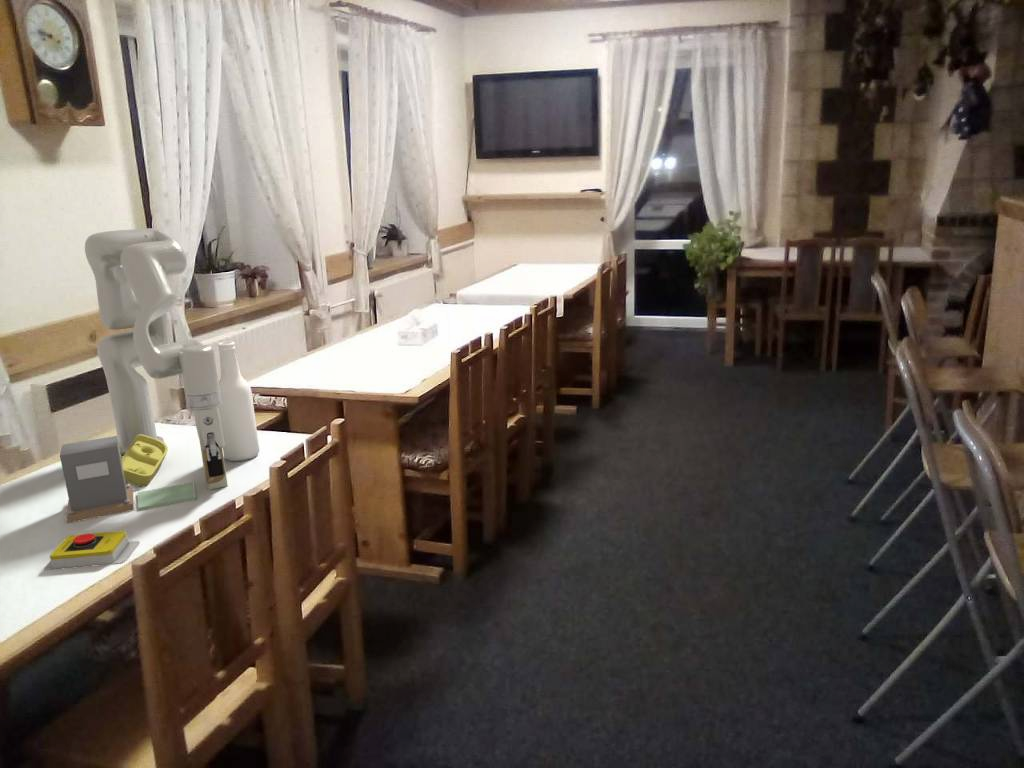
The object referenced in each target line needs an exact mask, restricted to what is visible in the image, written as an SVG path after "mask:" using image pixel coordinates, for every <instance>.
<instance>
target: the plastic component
mask: <svg viewBox="0 0 1024 768" xmlns="http://www.w3.org/2000/svg"><path fill="white" fill-rule="evenodd" d="M168 451H169V448H168V445H167V444H166V443H165V442H164V443H163V442H162V441H160V440H158V439H155V438H152V437H149V436H145V435H142V434H139V435H137V436H136V437H135V439H134V440H133V442H132V443H131V445H130V447H129V448H128V450H127V451H126V453H125V455H123V456H122V457H121V459H122V464H123V469H124V475H125V480H126V484H129V485H130V484H131V485H132V486H133V485H134V486H137V487H145V486H147V485H149V484H150V483H151V482H152V480H153V479H154V477H155V476H156V474H157V473H158V471H159V470H160V468H161V467H162V464H163V462H164V460H165V458H166V456H167V454H168Z"/></svg>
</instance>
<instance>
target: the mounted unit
mask: <svg viewBox="0 0 1024 768" xmlns="http://www.w3.org/2000/svg"><path fill="white" fill-rule="evenodd" d="M59 458H60V463H61V467H62V468H61V469H62V473H63V479H64V483H65V487H66V492H67V497H68V500H67V507H66V512H65V520H66V523H67V524H70V523H73V522H74V521H75V522H79V520H80V521H85V520H90V519H94V518H93V517H95V518H99V517H98V516H100V517H104V516H109V515H110V516H111V515H115V514H120V513H123V512H124V513H125V512H130V511H134V510H135V509H134V490H133V484H131V485H130V483H127V482H126V480H125V475H124V469H123V464H122V455H121V453H120V448H119V443H118V437H117V435H115V436H114V435H113V436H107V437H101V438H96V439H89V440H83V441H77V442H71V443H65V444H64V443H63V444H62V445H61V448H60V453H59ZM89 518H90V519H89ZM84 519H85V520H84ZM69 522H70V523H69Z"/></svg>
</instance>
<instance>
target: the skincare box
mask: <svg viewBox="0 0 1024 768" xmlns="http://www.w3.org/2000/svg"><path fill="white" fill-rule="evenodd" d="M207 439H208V436H207ZM215 442H216V441H215ZM199 445H200V452H201V459H202V465H203V466H202V467H203V472H204V478H205V484H206V486H207V488H208V490H210V491H211V490H215V489H219V488H225V487H228V486H229V485H228V484H229V483H228V479H227V477H228V476H227V473H226V472H227V470H226V466H225V465H226V464H225V457H224V453H223V448H222V447H219V452H220V457H221V458H222V464H223V471H224V474H223V475H220V476H215V477H209V472H208V466H207V460H208V458H207V453H206V451H204V450H203V449H202V446H201V443H200V442H199ZM207 447H210V445H208V446H207ZM209 452H211V451H209Z"/></svg>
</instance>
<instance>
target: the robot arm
mask: <svg viewBox="0 0 1024 768" xmlns="http://www.w3.org/2000/svg"><path fill="white" fill-rule="evenodd" d="M84 253H85V258H86V259H87V263H88V265H89V266H90V269H91V270H92V273H93V276H94V279H95V285H96V286H95V287H96V295H97V296H96V297H97V305H98V311H99V317H100V321H101V323H102V325H103V326H104V328H106V329H108V330H111V331H115V330H117V331H118V330H126V329H133V330H126V331H121V332H115V333H112V334H109V335H105V336H104V337H102V338H101V339H100V340H99V341H98V343H97V346H96V353H97V356H98V358H99V362H100V363H101V364H100V365H101V367H102V369H103V373H104V375H105V380H106V384H107V389H108V393H109V399H110V404H111V410H112V415H113V420H114V421H113V422H114V426H115V430H116V436H117V437H118V443H119V448H120V453H121V456H122V455H123V456H124V455H125V453H126V451H127V450H128V448H129V447H130V445H131V443H132V442H133V440H134V439H135V437H136V436H137V435H139V434H142V435H145V436H149V437H152V438H155V439H158V440H160V441H162V442H163V443H165V440H164V438H163V437H162V436H158V435H157V429H156V423H155V417H154V413H153V406H152V401H151V395H150V390H149V384H148V382H147V379H146V378H145V377H144V376H143V375H142V374H141V373H139V372H138V371H137V370H136V368H137V367H140V366H142V367H143V369H144V371H145V373H146V374H147V375H148V376H149V377H151V378H153V379H156V380H161V379H167V378H170V377H174V376H179V375H181V378H182V385H183V391H184V396H185V402H186V407H187V409H188V410H192V411H193V417H194V423H195V428H196V434H197V436H198V441H199V444H200V443H201V446H202V449H203V450H204V451H206V453H207V458H208V460H207V466H208V472H209V477H215V476H220V475H223V474H224V471H223V464H222V458H221V457H220V452H219V447H222V449H223V448H224V446H225V444H224V439H223V433H222V426H221V420H220V415H219V410H218V406H219V405H221V404H222V401H221V394H220V387H219V381H220V380H219V372H218V367H217V361H216V355H215V350H214V348H213V347H212V346H210V345H207V344H203V343H202V341H200V340H197V339H187V340H180V341H176V342H175V341H174V342H171V343H170V336H169V335H170V334H169V324H168V323H169V322H168V312H170V311H171V310H172V309H173V308H174V307H175V306H176V305H177V302H178V297H177V294H176V292H175V290H174V287H173V286H172V283H171V280H170V278H169V276H176V275H181V274H183V273H184V272H185V271H186V269H187V264H188V263H187V257H186V254H185V251H184V250H183V248H182V246H181V245H180V244H179V242H177V241H176V240H175V239H174V238H172V237H171V236H169V235H167V234H166V233H165V232H163V231H161V230H159V229H157V228H149V227H147V228H136V229H135V228H134V229H120V230H119V229H118V230H109V231H102V232H97V233H93V234H91V235H89V236H88V237H87V238H86V239H85V244H84ZM207 436H208V439H207ZM215 441H216V442H215ZM208 445H210V447H207V446H208ZM201 446H200V447H201ZM209 451H211V452H209Z"/></svg>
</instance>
